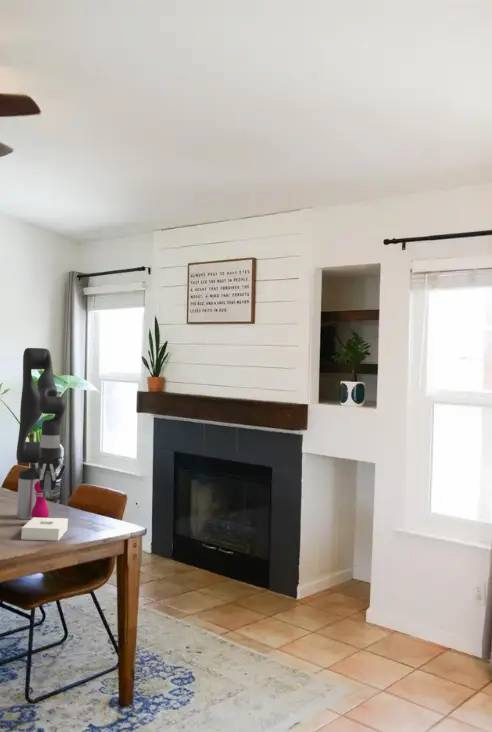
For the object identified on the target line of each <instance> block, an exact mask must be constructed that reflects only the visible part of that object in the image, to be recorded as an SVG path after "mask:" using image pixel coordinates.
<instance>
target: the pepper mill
mask: <svg viewBox="0 0 492 732" xmlns="http://www.w3.org/2000/svg"><path fill="white" fill-rule="evenodd" d="M34 489H35V490H36V492H35V496H36V503H35V506H34V508H33V509H32V513H31V516H32V517H38V518H49V515H50V511H49V508H48V505H47V501H46V500H47V498H43V490H41V488H40V481H38V482H36V483H35V485H34Z"/></svg>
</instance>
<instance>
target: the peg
mask: <svg viewBox="0 0 492 732" xmlns="http://www.w3.org/2000/svg"><path fill="white" fill-rule="evenodd" d="M52 481H53V479H52V475H51V472H45V473H44V481H43V498H46V499H52V498H53V490H52Z"/></svg>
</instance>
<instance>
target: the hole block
mask: <svg viewBox="0 0 492 732" xmlns="http://www.w3.org/2000/svg"><path fill="white" fill-rule="evenodd" d="M68 523H69V518H66V517H64V518H62V517H47V518H38V517H33V518H32V519H29V521H28V522H26V523H25V524H24V526H21V533H20V534H21V540H27V541H28V540H29V541H56V542H57V541H59V540H60V539H61V538H62V537H63V535H65V533H66V532H67V531H68V527H69V526H68Z"/></svg>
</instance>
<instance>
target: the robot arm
mask: <svg viewBox="0 0 492 732" xmlns="http://www.w3.org/2000/svg"><path fill="white" fill-rule="evenodd" d="M22 356H23V358H22V390H21V398H20V410H19V412H20V414H19V429H18V438H17V444H16V445H17V446H16V455H15V456H16V460H17V462H18V463H19V464H20V463H21V464H24V463H25V464H31V466H30V467H29V468H27V469H23V470H21V471H19V473H18V485H17V486H18V488H17V500H16V501H17V504H16V505H17V506H16V518H17V519H19V520H31V519H32V518H33V517H32V516H31V513H32V509H33V508H34V506H35V503H36V496H35V492H36V490H35V489H34V485H35V483H36V482H38V481H40V488H41V490H43V481H44V473H45V472H51V475H52V479H53V481H52V491H54V490H55V489H56V488H57V481H58V480H60V479H61V478H62V477H63V474H64V472H65V470H66V468H67V464H63V463H61V461H60V446H61V436H60V435H61V423H62V420H63V416H64V414H65V410H66V407H67V402H66V400H65V398H64V397H62V396H58V390H57V387H56V383H55V379H54V371H53V370H54V369H53V362H52V356H51V352H50V351H49V349H48V348H42V347H40V348H39V347H27V348H25V349H24V351H23V355H22ZM32 370H40V371H41V370H43V372H42V373H41V374H40V376H39V377H38V379H37V381H36V382H37V384H36V383H35V381H34V379H33V376H32V375H33V374H32ZM43 414H44V415H54V416H53V417H52V418H50V419H45V420H43V421H42V424H41V437H40V441H27V438H28V436H29V433H30V432H31V431H32V429H33V427H34V426H35V425H36V424H37V423H38V421H39V420H40V418H41V416H42V415H43ZM58 467H59V470H60V471H58V472H59V473H58V475H57V471H56V470H57V468H58Z"/></svg>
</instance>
